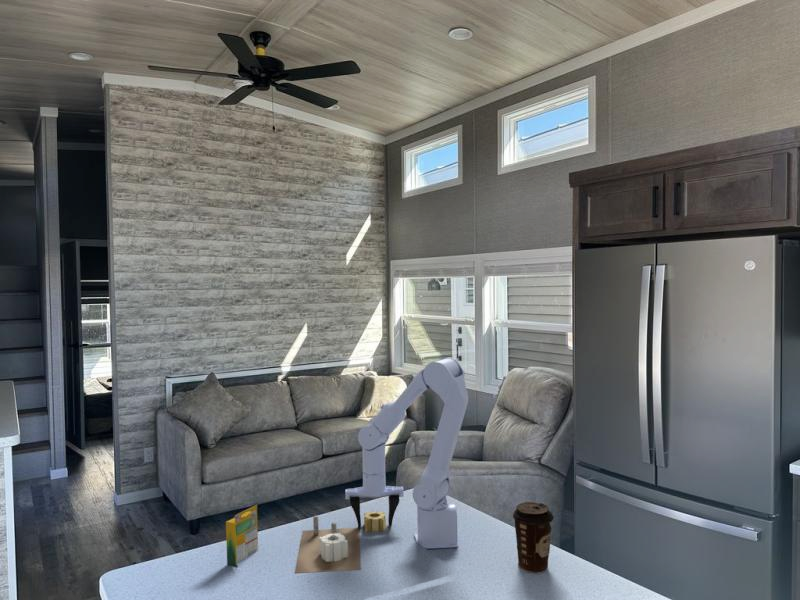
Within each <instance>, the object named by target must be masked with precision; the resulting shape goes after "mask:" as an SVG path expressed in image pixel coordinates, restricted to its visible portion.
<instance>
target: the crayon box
mask: <svg viewBox="0 0 800 600" xmlns="http://www.w3.org/2000/svg"><path fill="white" fill-rule="evenodd" d="M258 533H259V532H258V504H256V505H253V506H251V507H249V508H247V509H245V510H243V511H241V512H239V513H237V514H235V515H234V517H233V518H231V519H229V520H227V521H225V534H226V536H225V537H226V540H225V541H226V565H227V566H229V567H233V568H238V563H239V562H241V561H242V560H244V559H246V558H248V557H250V556H251V555H253V554H254V553H256V552H258V551H259V534H258Z"/></svg>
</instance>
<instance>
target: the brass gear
mask: <svg viewBox="0 0 800 600" xmlns="http://www.w3.org/2000/svg"><path fill="white" fill-rule="evenodd" d="M363 525H364V532H366V533H368V532H372V533H373V532H375V533H376V532H379V531H380V532H381V531H382V532H384V531H387V518H386V512H384V511H376V510H375V511H368V512H364V513H363Z"/></svg>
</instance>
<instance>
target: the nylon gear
mask: <svg viewBox="0 0 800 600" xmlns="http://www.w3.org/2000/svg"><path fill="white" fill-rule="evenodd" d="M331 535H336V540H334V541H331V540H330V536H331ZM319 554H321V557H322V559H323V560H325V561H326V562H330V561H331V562H332V561H338V560H341V559H343V558H347V556H348V540H345V537H344V536H343V535H341V534H340V533H337V534H336V533H334V534H327V535H326V536H323V537H320V538H319Z"/></svg>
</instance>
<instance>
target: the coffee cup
mask: <svg viewBox="0 0 800 600" xmlns="http://www.w3.org/2000/svg"><path fill="white" fill-rule="evenodd" d="M512 518H513V520H514V530H515V539H516V550H517V559H518V562H517V567H518V568H519V569H521V570H522V571H524V572H527V573H531V574H538V573H544V572H545V571H547V570H548V568H549V557H550V555H549V554H550V552H551V551H550V548H551V538H552V536H551V535H552V526H551V523H552V522H553V520H554V515H553V513H552V511H550V509H549V507H548V505H547V504H544V503H540V502H536V501H535V502H533V501H531V502H530V501H525V502H521V503H519V504H517V506H516V509H515V510H514V511H513V513H512Z"/></svg>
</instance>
